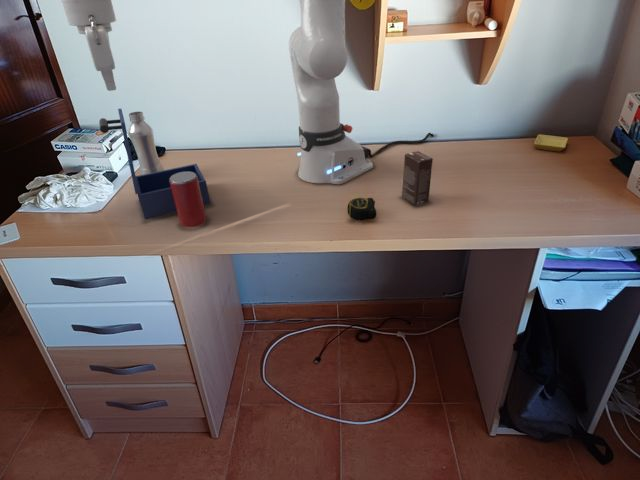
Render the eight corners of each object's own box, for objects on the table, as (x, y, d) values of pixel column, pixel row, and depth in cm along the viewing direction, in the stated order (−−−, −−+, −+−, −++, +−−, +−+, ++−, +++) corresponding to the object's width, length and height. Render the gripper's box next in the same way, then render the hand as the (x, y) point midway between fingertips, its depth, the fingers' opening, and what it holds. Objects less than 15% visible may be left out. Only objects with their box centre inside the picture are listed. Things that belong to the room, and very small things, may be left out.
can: (201, 213, 114) (191, 168, 107) (210, 223, 110) (200, 177, 103) (177, 221, 111) (164, 176, 104) (185, 232, 107) (173, 185, 100)
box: (429, 202, 113) (433, 158, 106) (414, 207, 111) (418, 162, 105) (415, 193, 117) (418, 150, 111) (401, 197, 116) (403, 153, 109)
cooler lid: (121, 108, 109) (97, 110, 107) (124, 122, 99) (98, 125, 97) (134, 174, 118) (112, 177, 116) (139, 193, 108) (115, 197, 106)
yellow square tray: (563, 154, 133) (565, 147, 132) (532, 149, 137) (533, 143, 136) (566, 144, 140) (568, 137, 138) (536, 140, 143) (538, 134, 142)
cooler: (201, 187, 127) (196, 163, 123) (211, 205, 117) (205, 180, 113) (141, 201, 122) (133, 176, 118) (145, 221, 112) (137, 195, 108)
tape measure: (376, 223, 106) (376, 209, 104) (347, 224, 106) (347, 210, 104) (374, 209, 111) (375, 195, 109) (347, 209, 112) (347, 196, 110)
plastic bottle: (159, 185, 130) (140, 117, 119) (138, 184, 131) (118, 117, 120) (169, 175, 135) (152, 109, 124) (149, 174, 136) (131, 109, 126)
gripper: (110, 17, 82) (130, 93, 89) (105, 8, 98) (122, 74, 105) (72, 20, 80) (96, 98, 87) (74, 10, 96) (94, 77, 103)
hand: (110, 85), depth 96 cm, fingers open, 8 cm apart
